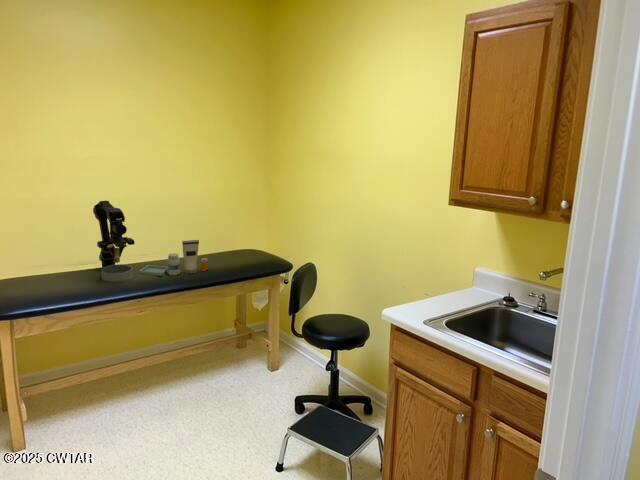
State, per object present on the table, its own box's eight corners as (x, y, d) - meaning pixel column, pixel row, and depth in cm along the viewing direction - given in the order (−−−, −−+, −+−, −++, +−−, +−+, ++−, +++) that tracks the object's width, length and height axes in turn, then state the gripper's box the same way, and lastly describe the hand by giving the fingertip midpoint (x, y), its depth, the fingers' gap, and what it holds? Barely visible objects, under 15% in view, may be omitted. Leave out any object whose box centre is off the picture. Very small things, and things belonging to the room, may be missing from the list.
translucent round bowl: (95, 281, 252) (95, 272, 251) (111, 272, 268) (110, 263, 267) (124, 284, 251) (124, 274, 250) (138, 274, 268) (137, 265, 266)
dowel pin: (113, 262, 256) (112, 249, 254) (115, 260, 259) (115, 247, 257) (118, 262, 256) (117, 249, 254) (120, 261, 259) (120, 248, 257)
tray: (139, 274, 267) (139, 270, 267) (148, 268, 279) (147, 264, 278) (162, 276, 267) (162, 273, 266) (170, 270, 278) (170, 266, 277)
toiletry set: (168, 276, 268) (168, 243, 263) (165, 272, 275) (165, 240, 269) (209, 272, 281) (210, 240, 276) (206, 268, 287) (206, 237, 282)
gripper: (102, 236, 241) (103, 263, 245) (137, 232, 253) (138, 258, 257) (96, 231, 249) (97, 258, 253) (130, 228, 261) (131, 253, 265)
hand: (116, 257), depth 257 cm, fingers closed on dowel pin, 3 cm apart
